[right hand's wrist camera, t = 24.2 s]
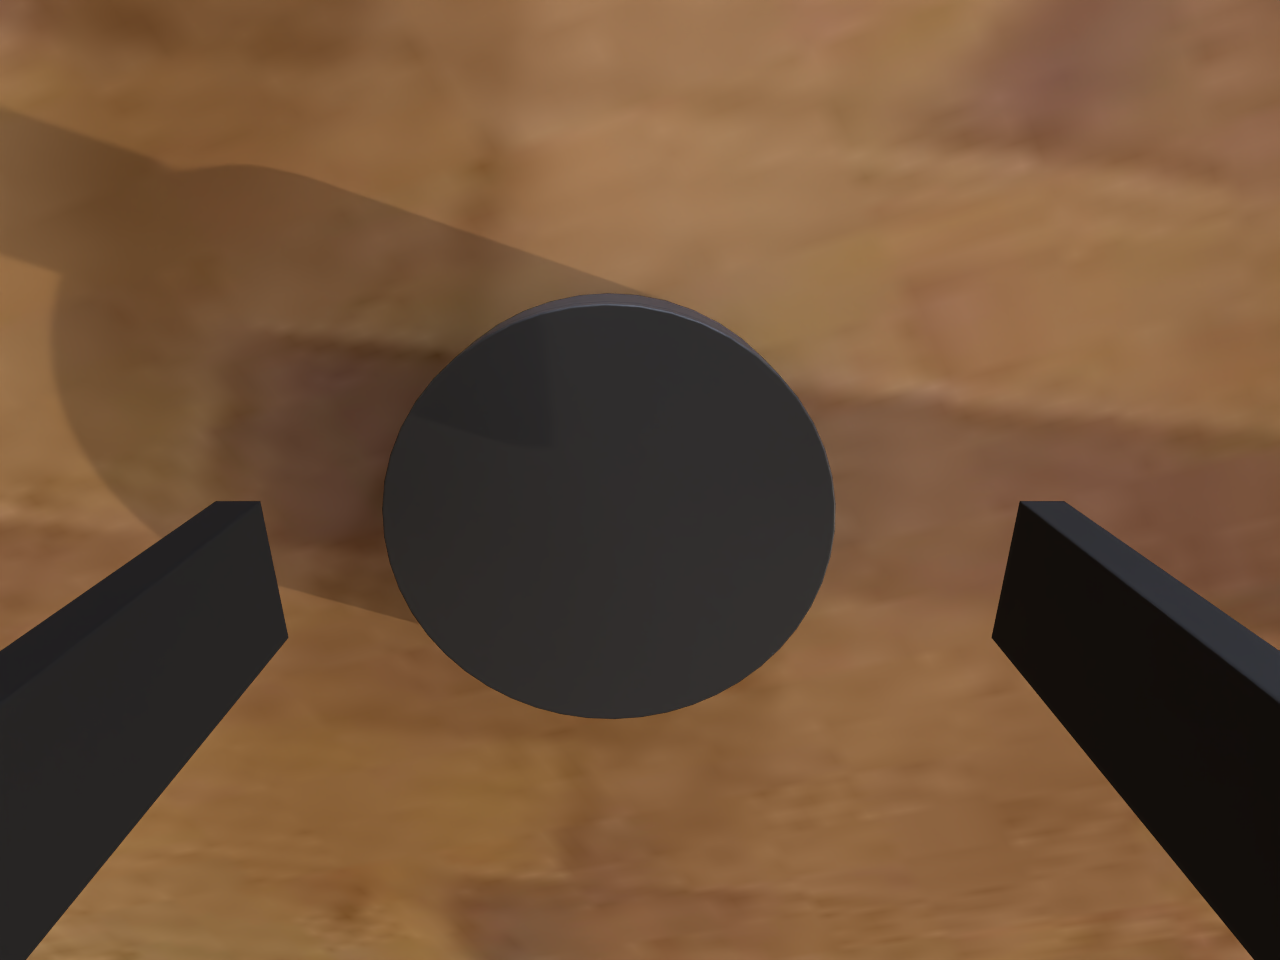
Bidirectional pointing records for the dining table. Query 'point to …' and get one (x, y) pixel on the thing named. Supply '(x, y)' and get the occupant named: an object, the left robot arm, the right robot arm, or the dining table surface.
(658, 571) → the lid
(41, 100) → the dining table surface
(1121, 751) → the right robot arm
